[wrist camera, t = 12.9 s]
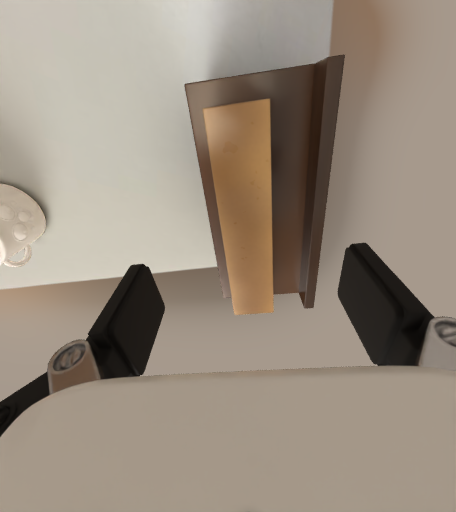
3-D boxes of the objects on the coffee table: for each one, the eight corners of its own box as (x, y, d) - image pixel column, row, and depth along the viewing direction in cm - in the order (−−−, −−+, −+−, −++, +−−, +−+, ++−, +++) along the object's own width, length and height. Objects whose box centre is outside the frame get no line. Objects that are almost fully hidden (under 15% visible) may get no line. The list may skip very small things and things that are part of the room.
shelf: (288, 79, 27) (345, 54, 13) (284, 235, 38) (313, 308, 25) (204, 92, 28) (176, 81, 14) (226, 240, 39) (222, 314, 26)
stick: (262, 99, 16) (270, 98, 13) (268, 286, 26) (273, 312, 23) (208, 107, 17) (202, 108, 13) (234, 288, 27) (234, 315, 23)
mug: (73, 242, 40) (36, 275, 32) (22, 251, 41) (-25, 285, 34) (27, 173, 33) (-33, 194, 26) (-32, 187, 35) (-105, 210, 27)
